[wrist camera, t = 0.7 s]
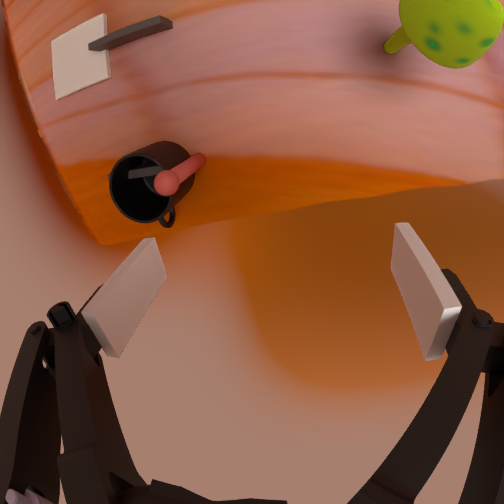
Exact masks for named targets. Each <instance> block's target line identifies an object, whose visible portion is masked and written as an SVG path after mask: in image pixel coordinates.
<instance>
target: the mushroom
mask: <svg viewBox="0 0 504 504" xmlns="http://www.w3.org/2000/svg"><path fill="white" fill-rule="evenodd" d="M399 16H400V20H401V23H402V26H401V27H400V28H399V29H398V30H397V31H395V32H394V34H393V35H392V36H391V37H390V38H389V39H388V40H387V41H386V42H385V44H384V49H385V51H386V52H387V53H389V54H394V53H395V52H397V51H398V50H400V49H401V48H403V47H405V46H406V45H408V44H410V43H411V42H412V43H413V44H414V45H415V47H416V48H417V49H418V50H419V51H420V52H421V53H422V54H424V55H425V56H426V57H427V58H429V59H430V60H432V61H433V62H435V63H437V64H439V65H442V66H444V67H448V68H454V69H458V68H464V67H467V66H469V65H471V64H472V63H474V62H475V61H477V60H478V59H479V58H480V57H481V56H482V55H483V54H484V53H485V52H486V51H487V50H488V49H489V48H490V47H491V46H492V45H493V43H494V42H495V40H496V39H497V37H498V35H499V34H500V31H501V29H502V26H503V22H504V9H503V6H502V4H501V3H500V2H499V1H498V0H400V2H399Z"/></svg>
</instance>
